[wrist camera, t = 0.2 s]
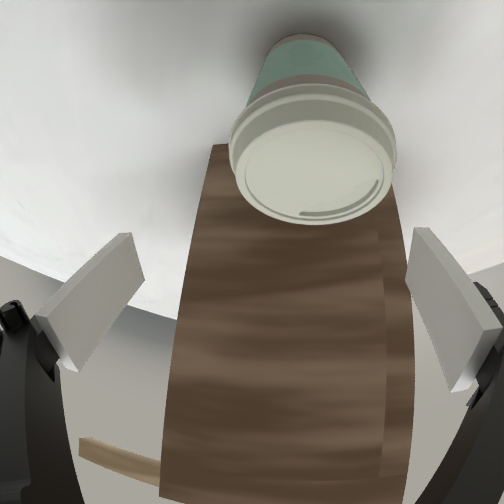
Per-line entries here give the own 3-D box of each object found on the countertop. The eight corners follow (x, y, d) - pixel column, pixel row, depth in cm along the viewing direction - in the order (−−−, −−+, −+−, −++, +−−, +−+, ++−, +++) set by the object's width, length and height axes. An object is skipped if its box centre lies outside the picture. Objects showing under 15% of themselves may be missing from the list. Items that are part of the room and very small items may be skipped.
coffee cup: (262, 114, 23) (250, 234, 18) (233, 27, 16) (194, 126, 11) (362, 106, 21) (392, 227, 16) (356, 14, 14) (416, 106, 9)
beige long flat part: (69, 438, 21) (68, 456, 20) (369, 491, 16) (365, 513, 15) (100, 436, 26) (99, 452, 25) (357, 475, 21) (354, 493, 20)
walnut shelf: (213, 145, 27) (158, 512, 13) (380, 143, 24) (396, 527, 10) (241, 230, 41) (217, 468, 27) (358, 230, 39) (355, 474, 24)
